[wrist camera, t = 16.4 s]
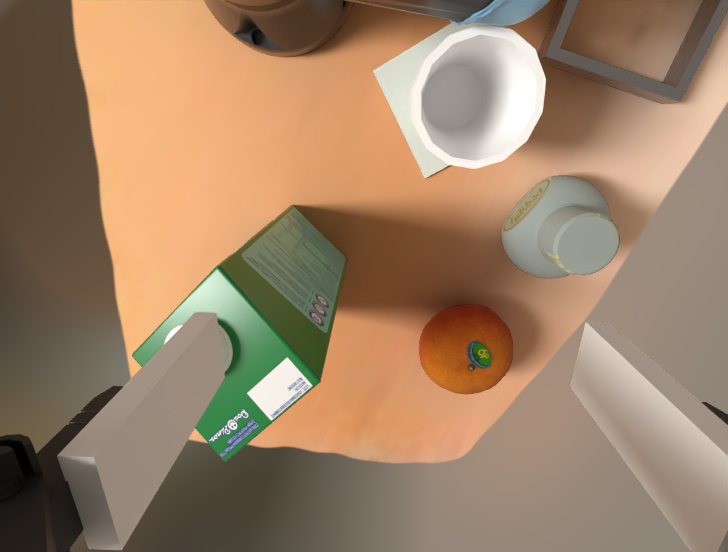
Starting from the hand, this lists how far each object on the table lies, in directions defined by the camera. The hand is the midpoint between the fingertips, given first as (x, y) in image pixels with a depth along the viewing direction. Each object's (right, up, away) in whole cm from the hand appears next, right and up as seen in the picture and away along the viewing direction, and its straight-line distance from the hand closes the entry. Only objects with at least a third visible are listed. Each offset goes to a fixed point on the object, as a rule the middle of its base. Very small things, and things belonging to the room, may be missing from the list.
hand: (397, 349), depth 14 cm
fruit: (+11, -4, +36) cm, 37 cm away
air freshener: (+19, +9, +31) cm, 37 cm away
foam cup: (+8, +21, +26) cm, 34 cm away
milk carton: (-9, +5, +33) cm, 35 cm away
